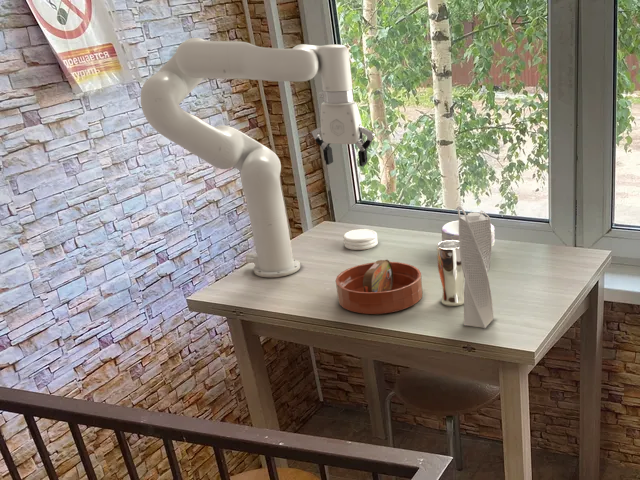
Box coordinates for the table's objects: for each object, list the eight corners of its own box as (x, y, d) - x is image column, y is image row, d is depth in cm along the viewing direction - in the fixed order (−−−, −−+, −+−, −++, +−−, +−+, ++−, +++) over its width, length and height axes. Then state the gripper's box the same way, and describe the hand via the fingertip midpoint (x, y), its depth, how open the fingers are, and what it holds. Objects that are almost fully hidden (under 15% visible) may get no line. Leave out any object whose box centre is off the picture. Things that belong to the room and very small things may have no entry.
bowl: (325, 312, 194) (322, 290, 192) (357, 280, 212) (354, 259, 210) (407, 318, 191) (405, 295, 188) (432, 285, 209) (431, 263, 206)
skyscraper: (456, 326, 186) (449, 210, 172) (469, 313, 192) (463, 200, 178) (487, 330, 184) (482, 213, 170) (499, 318, 190) (495, 203, 176)
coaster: (350, 239, 243) (349, 228, 241) (382, 240, 241) (380, 228, 239) (340, 250, 234) (338, 238, 232) (372, 251, 233) (371, 239, 231)
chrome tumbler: (457, 309, 195) (453, 251, 187) (434, 303, 198) (430, 246, 191) (473, 299, 200) (470, 242, 192) (450, 294, 203) (447, 238, 196)
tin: (375, 308, 195) (371, 276, 190) (363, 307, 195) (359, 275, 191) (395, 285, 207) (392, 255, 203) (384, 284, 208) (380, 254, 204)
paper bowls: (505, 249, 231) (504, 223, 228) (475, 265, 220) (474, 238, 216) (462, 241, 239) (461, 215, 235) (432, 256, 228) (430, 229, 224)
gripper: (301, 98, 201) (310, 166, 209) (364, 100, 197) (371, 169, 206) (314, 93, 207) (322, 159, 216) (375, 95, 204) (382, 162, 212)
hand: (346, 164), depth 211 cm, fingers open, 9 cm apart
